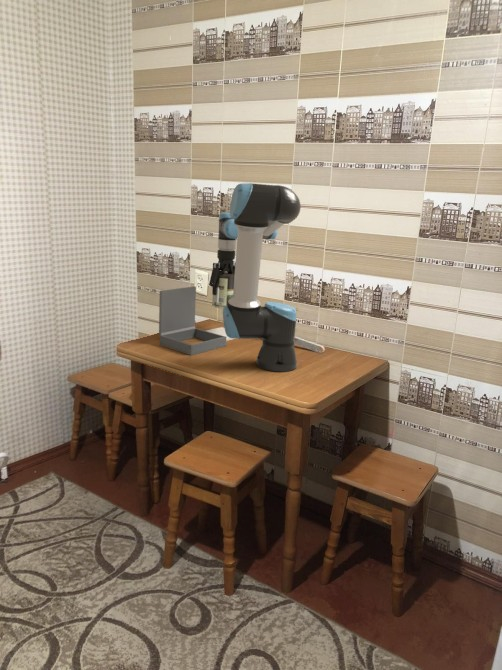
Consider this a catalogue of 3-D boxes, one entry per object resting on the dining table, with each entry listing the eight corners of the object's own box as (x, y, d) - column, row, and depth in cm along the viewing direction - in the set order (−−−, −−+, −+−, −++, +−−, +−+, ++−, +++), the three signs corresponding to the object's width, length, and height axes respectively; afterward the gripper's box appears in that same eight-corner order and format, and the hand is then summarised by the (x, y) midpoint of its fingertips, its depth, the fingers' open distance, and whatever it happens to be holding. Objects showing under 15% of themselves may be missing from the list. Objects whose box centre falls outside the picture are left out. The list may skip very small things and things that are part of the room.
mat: (247, 335, 237) (247, 334, 236) (223, 341, 224) (223, 340, 224) (221, 328, 246) (221, 327, 246) (196, 333, 234) (196, 332, 234)
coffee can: (232, 303, 238) (234, 272, 234) (237, 308, 228) (239, 276, 225) (210, 303, 236) (211, 271, 232) (213, 308, 226) (215, 275, 222)
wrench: (320, 360, 218) (259, 338, 232) (322, 359, 219) (261, 337, 233) (324, 342, 215) (262, 320, 229) (326, 341, 217) (265, 320, 231)
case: (226, 346, 218) (228, 293, 213) (191, 355, 203) (193, 299, 198) (193, 336, 230) (194, 286, 224) (157, 344, 215) (158, 290, 209)
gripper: (237, 247, 236) (234, 296, 242) (201, 249, 219) (199, 302, 225) (250, 249, 232) (247, 299, 238) (214, 251, 215) (212, 305, 221)
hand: (223, 300), depth 231 cm, fingers closed on coffee can, 10 cm apart
